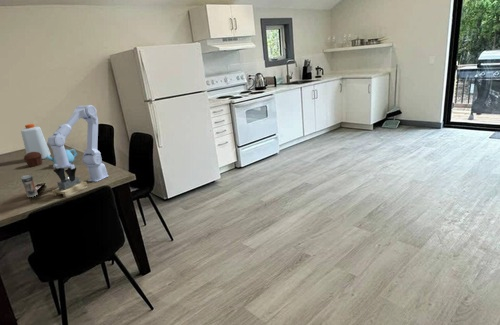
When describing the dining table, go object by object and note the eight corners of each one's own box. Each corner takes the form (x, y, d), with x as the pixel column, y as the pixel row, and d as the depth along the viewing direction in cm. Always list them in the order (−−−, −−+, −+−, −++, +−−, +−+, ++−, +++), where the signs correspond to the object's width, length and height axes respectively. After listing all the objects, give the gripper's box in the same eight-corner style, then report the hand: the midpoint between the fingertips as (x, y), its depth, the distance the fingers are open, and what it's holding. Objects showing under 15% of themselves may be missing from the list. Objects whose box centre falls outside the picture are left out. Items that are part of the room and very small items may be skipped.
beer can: (28, 198, 172) (20, 178, 168) (27, 196, 176) (20, 176, 172) (38, 196, 175) (31, 175, 171) (37, 193, 178) (31, 173, 175)
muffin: (29, 168, 233) (25, 155, 230) (24, 166, 239) (19, 154, 236) (47, 163, 242) (43, 150, 239) (41, 161, 248) (37, 149, 245)
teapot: (78, 159, 245) (73, 144, 241) (81, 163, 232) (76, 147, 228) (48, 165, 235) (43, 150, 231) (49, 170, 221) (44, 154, 218)
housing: (76, 181, 182) (73, 173, 180) (82, 182, 180) (79, 174, 178) (56, 190, 171) (53, 181, 170) (62, 190, 169) (60, 182, 168)
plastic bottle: (31, 158, 264) (20, 125, 256) (51, 154, 270) (41, 121, 261) (27, 162, 251) (15, 127, 242) (49, 158, 257) (38, 124, 248)
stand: (75, 185, 184) (74, 180, 184) (88, 186, 180) (86, 181, 180) (53, 195, 172) (52, 190, 172) (66, 197, 168) (64, 191, 167)
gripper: (45, 159, 170) (52, 182, 174) (63, 159, 164) (70, 184, 168) (57, 154, 176) (64, 177, 180) (75, 155, 170) (82, 179, 174)
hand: (68, 180), depth 175 cm, fingers open, 7 cm apart
